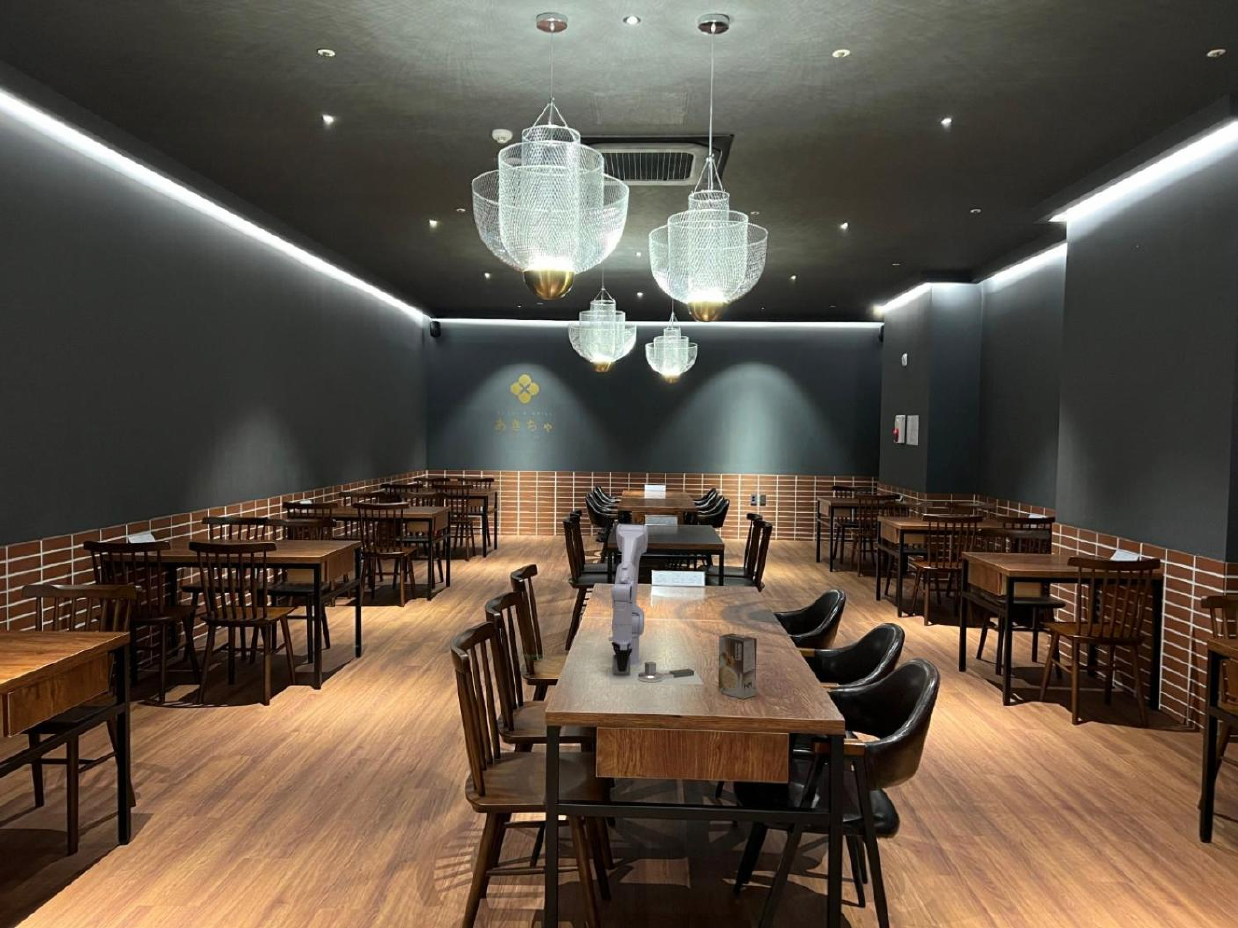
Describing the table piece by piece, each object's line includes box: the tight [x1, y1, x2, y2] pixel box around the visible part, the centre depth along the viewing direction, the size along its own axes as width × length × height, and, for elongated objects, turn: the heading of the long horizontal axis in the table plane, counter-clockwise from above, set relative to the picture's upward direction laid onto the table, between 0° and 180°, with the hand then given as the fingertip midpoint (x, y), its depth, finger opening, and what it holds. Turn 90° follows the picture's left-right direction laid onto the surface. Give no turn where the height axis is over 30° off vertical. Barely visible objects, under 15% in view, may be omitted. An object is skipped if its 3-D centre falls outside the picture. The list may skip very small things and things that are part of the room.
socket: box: [611, 654, 631, 676], centre depth 262 cm, size 5×5×5 cm
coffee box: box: [717, 633, 758, 700], centre depth 244 cm, size 9×6×16 cm
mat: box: [606, 669, 705, 685], centre depth 259 cm, size 16×27×1 cm, turn 94°
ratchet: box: [638, 661, 694, 683], centre depth 258 cm, size 7×18×5 cm, turn 119°
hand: (621, 668), depth 262 cm, fingers open, 6 cm apart
